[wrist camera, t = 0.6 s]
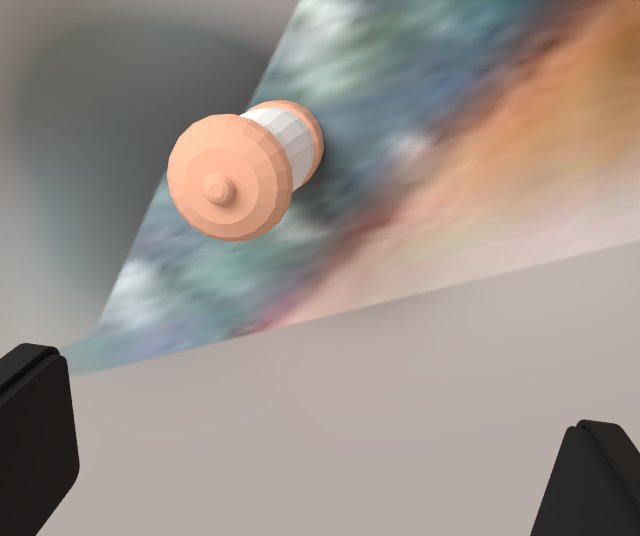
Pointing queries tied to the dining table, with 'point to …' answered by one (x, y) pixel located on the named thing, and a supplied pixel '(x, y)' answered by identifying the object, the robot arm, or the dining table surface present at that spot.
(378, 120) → the dining table surface
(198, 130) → the pepper shaker
